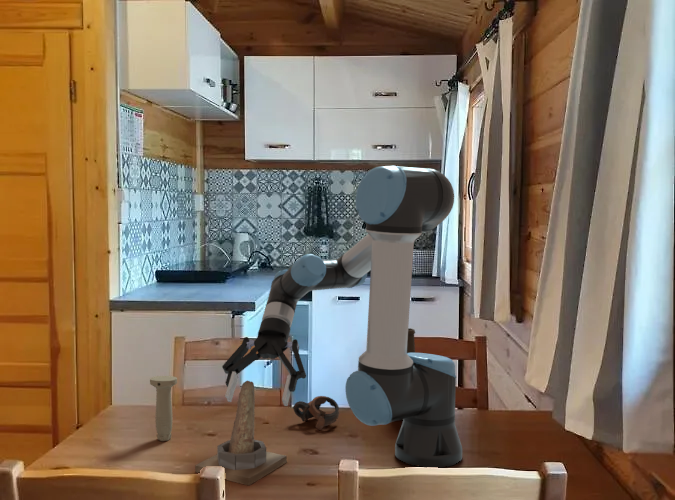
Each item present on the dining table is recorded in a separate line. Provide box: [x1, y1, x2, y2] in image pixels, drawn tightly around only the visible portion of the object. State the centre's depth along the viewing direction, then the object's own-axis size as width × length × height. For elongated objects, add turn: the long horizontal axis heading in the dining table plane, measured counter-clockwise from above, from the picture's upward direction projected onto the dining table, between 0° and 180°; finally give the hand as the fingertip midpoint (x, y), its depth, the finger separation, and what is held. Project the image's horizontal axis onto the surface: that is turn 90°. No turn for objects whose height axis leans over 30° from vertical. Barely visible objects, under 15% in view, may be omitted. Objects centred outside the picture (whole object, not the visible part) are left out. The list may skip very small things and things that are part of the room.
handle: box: [149, 375, 178, 442], centre depth 159 cm, size 5×6×15 cm
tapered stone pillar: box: [228, 380, 256, 454], centre depth 141 cm, size 6×18×6 cm
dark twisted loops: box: [292, 395, 340, 431], centre depth 171 cm, size 12×10×8 cm
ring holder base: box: [194, 439, 288, 486], centre depth 142 cm, size 14×14×4 cm
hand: (256, 401), depth 150 cm, fingers open, 13 cm apart
